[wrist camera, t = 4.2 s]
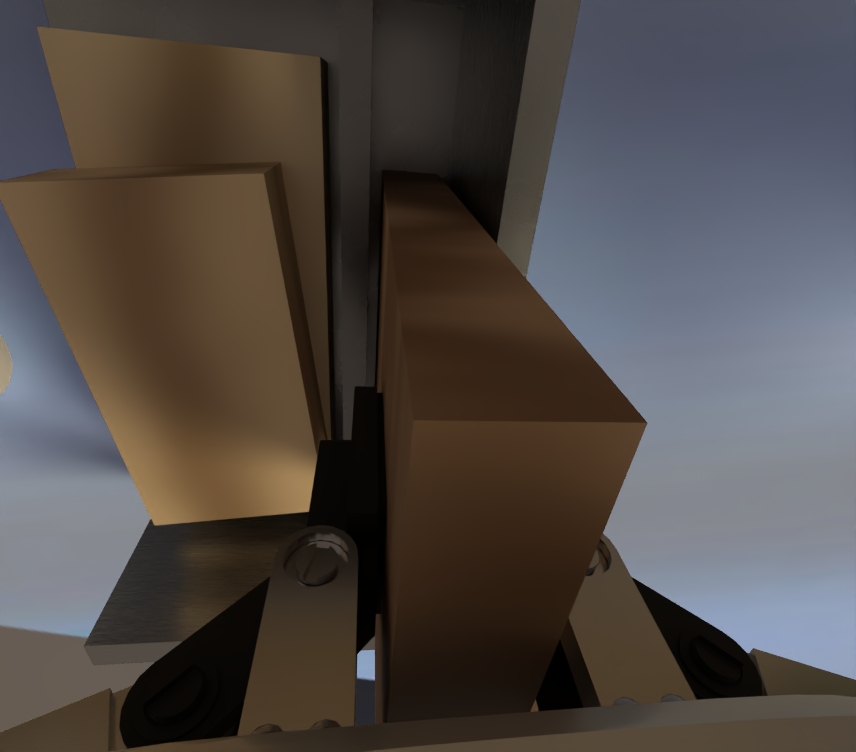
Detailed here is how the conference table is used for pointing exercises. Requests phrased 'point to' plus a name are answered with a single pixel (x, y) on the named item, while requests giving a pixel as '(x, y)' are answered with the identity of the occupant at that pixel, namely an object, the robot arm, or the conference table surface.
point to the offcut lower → (210, 134)
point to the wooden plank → (480, 464)
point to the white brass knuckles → (4, 365)
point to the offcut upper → (184, 327)
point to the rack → (350, 213)
